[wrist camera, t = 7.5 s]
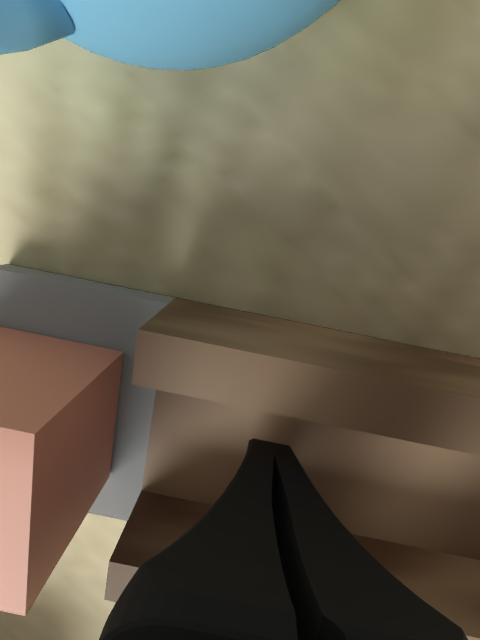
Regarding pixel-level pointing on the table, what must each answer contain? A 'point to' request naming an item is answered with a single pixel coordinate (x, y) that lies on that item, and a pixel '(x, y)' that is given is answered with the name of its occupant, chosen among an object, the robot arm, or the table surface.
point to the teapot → (158, 28)
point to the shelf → (99, 330)
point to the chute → (314, 440)
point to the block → (50, 451)
